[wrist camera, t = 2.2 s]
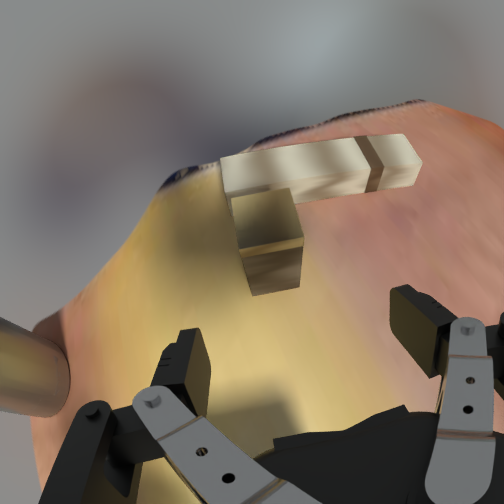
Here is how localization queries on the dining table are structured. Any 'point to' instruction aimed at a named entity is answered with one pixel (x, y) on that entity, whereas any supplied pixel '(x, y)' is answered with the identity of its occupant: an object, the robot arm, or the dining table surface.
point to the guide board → (323, 168)
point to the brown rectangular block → (269, 240)
